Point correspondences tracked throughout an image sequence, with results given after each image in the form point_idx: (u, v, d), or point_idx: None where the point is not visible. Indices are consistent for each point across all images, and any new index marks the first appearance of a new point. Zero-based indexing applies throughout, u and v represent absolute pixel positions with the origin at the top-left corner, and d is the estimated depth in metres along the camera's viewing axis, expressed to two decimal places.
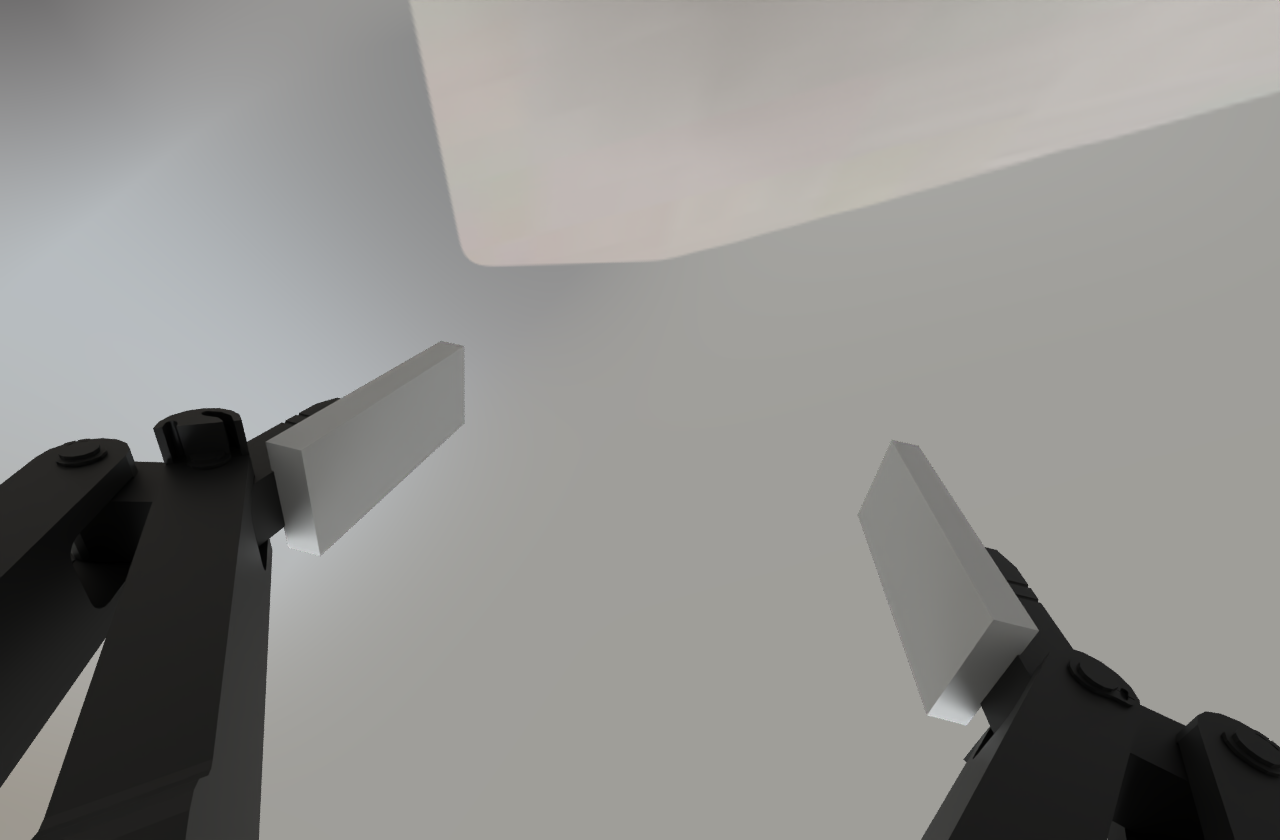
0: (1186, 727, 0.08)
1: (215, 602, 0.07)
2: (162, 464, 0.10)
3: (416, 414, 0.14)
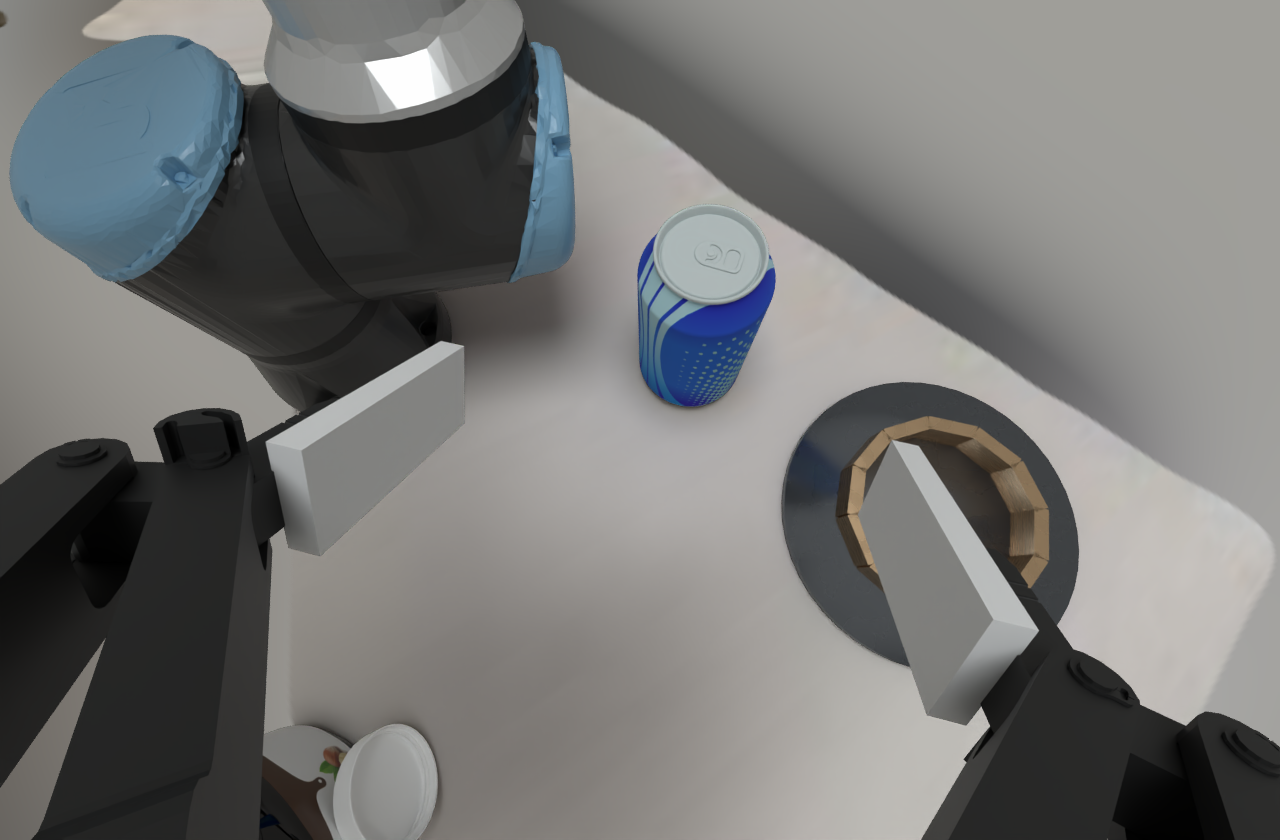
0: (1186, 727, 0.08)
1: (214, 601, 0.07)
2: (162, 464, 0.10)
3: (416, 414, 0.14)
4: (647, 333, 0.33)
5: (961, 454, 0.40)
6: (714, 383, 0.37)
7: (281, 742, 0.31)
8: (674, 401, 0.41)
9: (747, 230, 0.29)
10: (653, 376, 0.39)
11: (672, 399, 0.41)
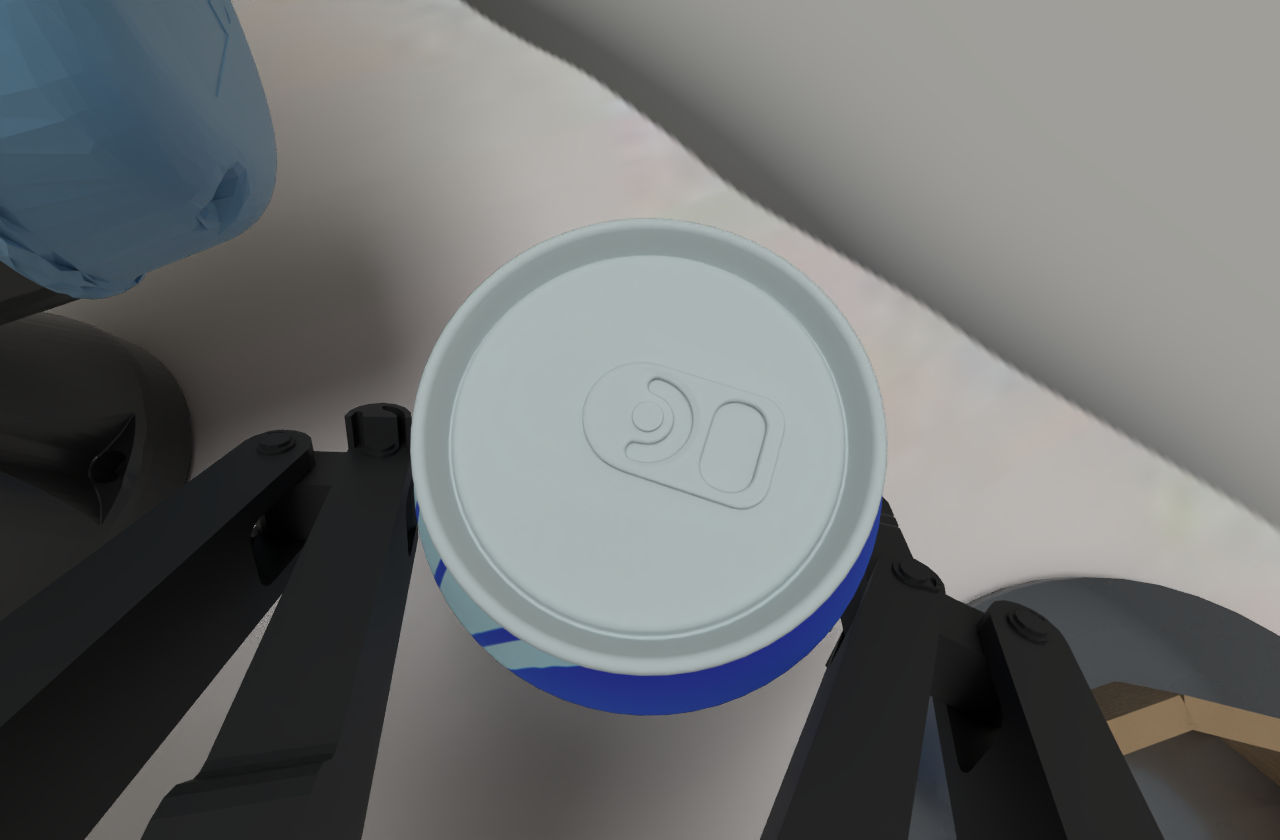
0: (982, 617, 0.09)
1: (363, 585, 0.07)
2: (332, 453, 0.11)
3: None
4: None
5: (1233, 754, 0.18)
6: None
7: None
8: None
9: (791, 318, 0.08)
10: None
11: None
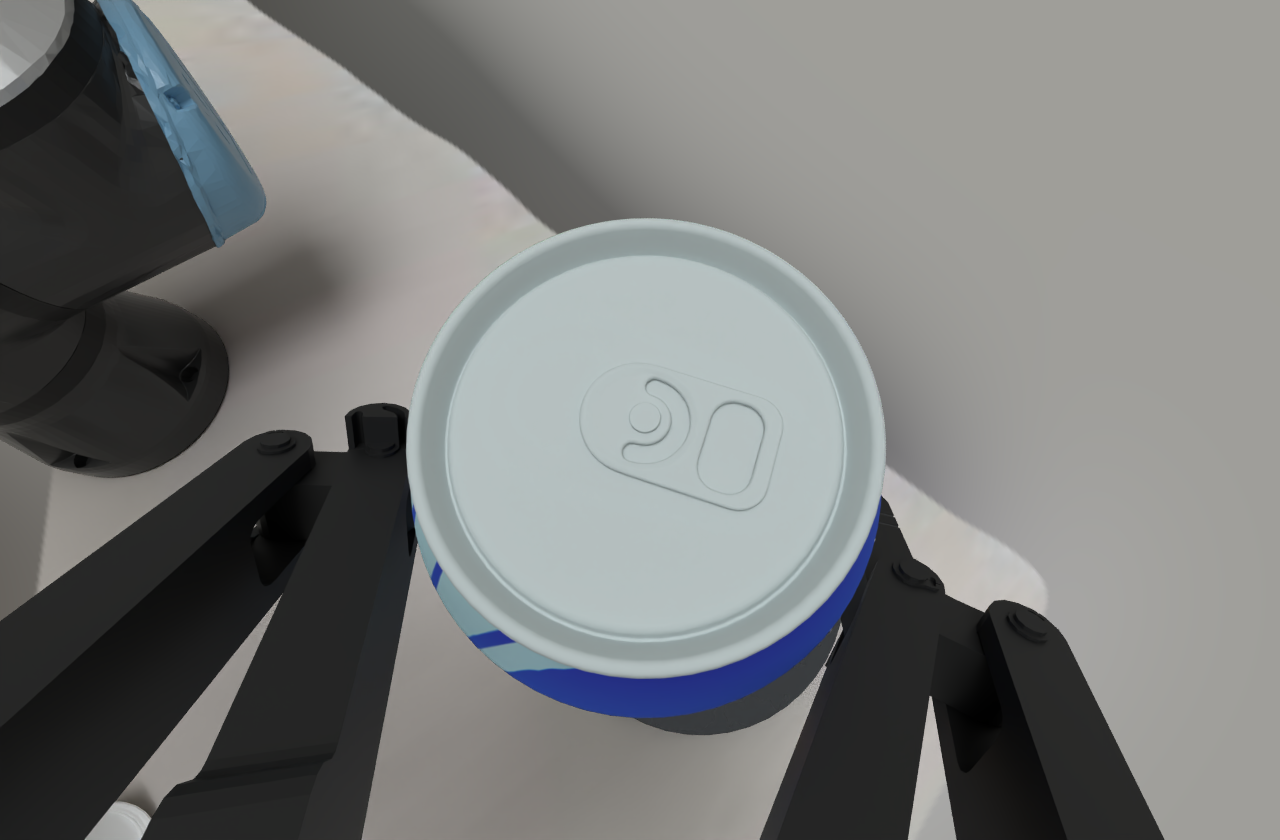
0: (982, 617, 0.09)
1: (363, 585, 0.07)
2: (333, 453, 0.11)
3: None
4: None
5: None
6: None
7: None
8: None
9: (790, 318, 0.08)
10: None
11: None
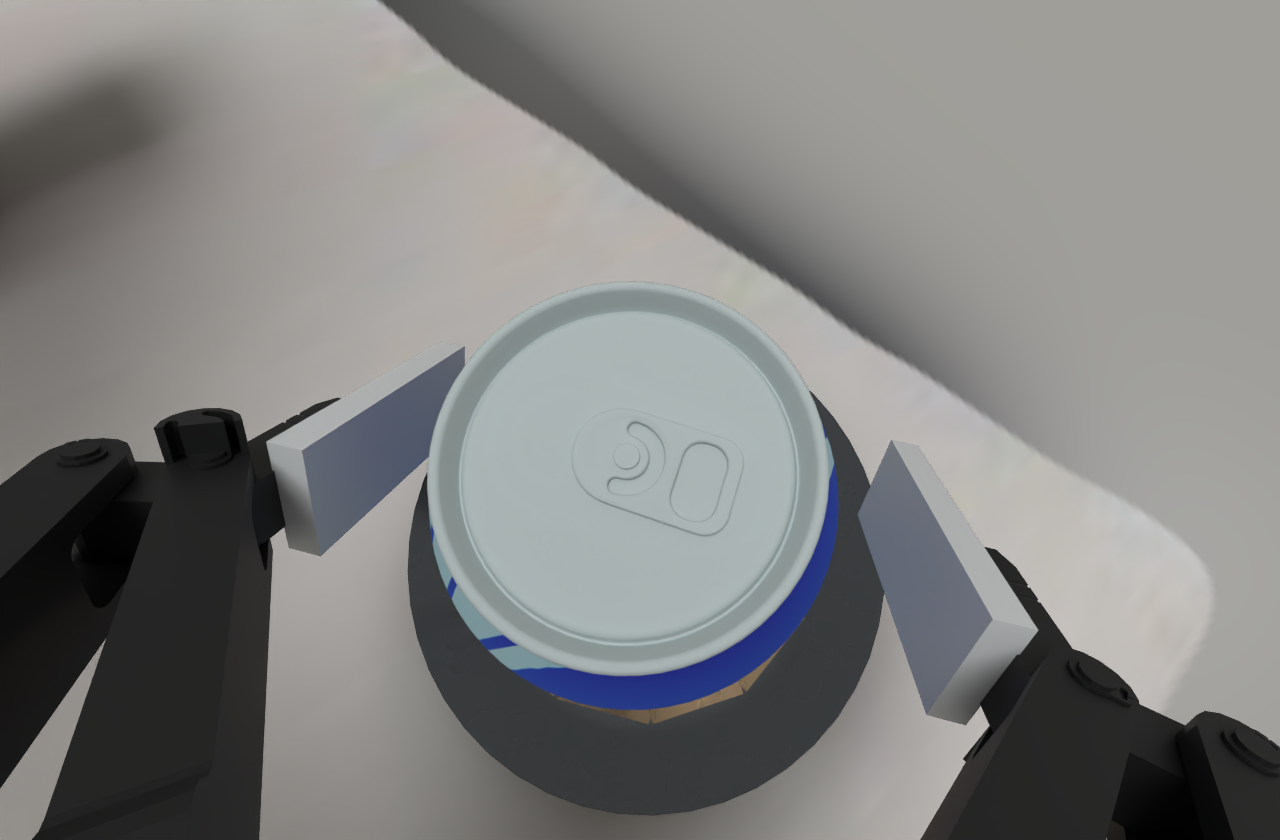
0: (1185, 727, 0.08)
1: (215, 602, 0.07)
2: (163, 464, 0.10)
3: (416, 414, 0.14)
4: None
5: None
6: None
7: None
8: None
9: (752, 368, 0.09)
10: None
11: None
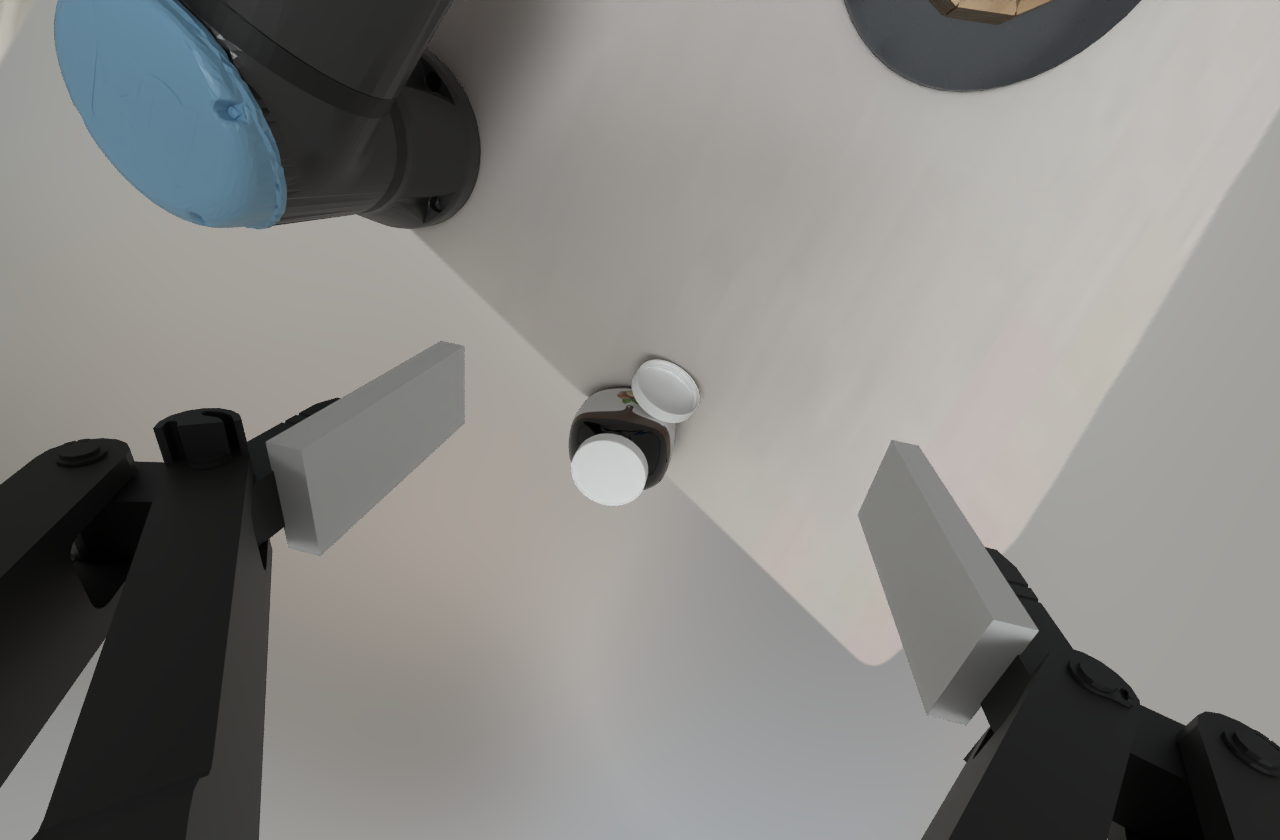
0: (1186, 727, 0.08)
1: (214, 602, 0.07)
2: (162, 464, 0.10)
3: (416, 414, 0.14)
4: None
5: None
6: None
7: (594, 403, 0.49)
8: None
9: None
10: None
11: None
